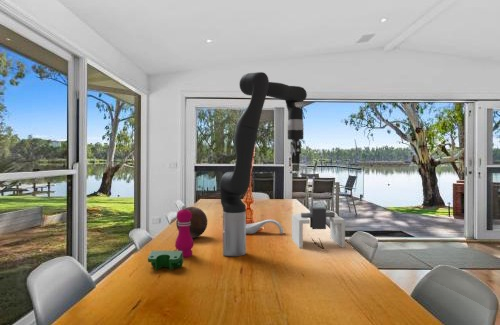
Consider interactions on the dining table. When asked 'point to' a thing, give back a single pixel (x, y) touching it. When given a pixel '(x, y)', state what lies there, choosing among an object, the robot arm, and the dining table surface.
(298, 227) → the white channel bracket
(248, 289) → the dining table surface
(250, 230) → the white curved piece
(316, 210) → the gray u-channel post
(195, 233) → the wooden sphere
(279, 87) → the robot arm
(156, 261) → the clamp
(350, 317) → the dining table surface
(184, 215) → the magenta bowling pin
